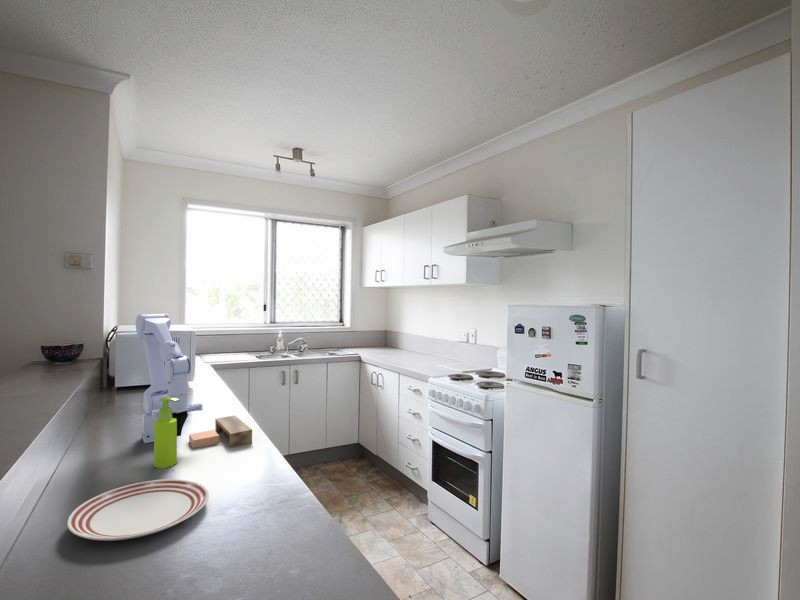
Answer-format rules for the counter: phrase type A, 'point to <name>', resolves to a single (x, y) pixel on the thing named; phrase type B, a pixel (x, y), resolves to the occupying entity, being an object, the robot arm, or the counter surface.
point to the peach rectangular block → (203, 438)
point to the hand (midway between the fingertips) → (178, 435)
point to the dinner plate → (137, 509)
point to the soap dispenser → (165, 436)
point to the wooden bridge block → (234, 430)
